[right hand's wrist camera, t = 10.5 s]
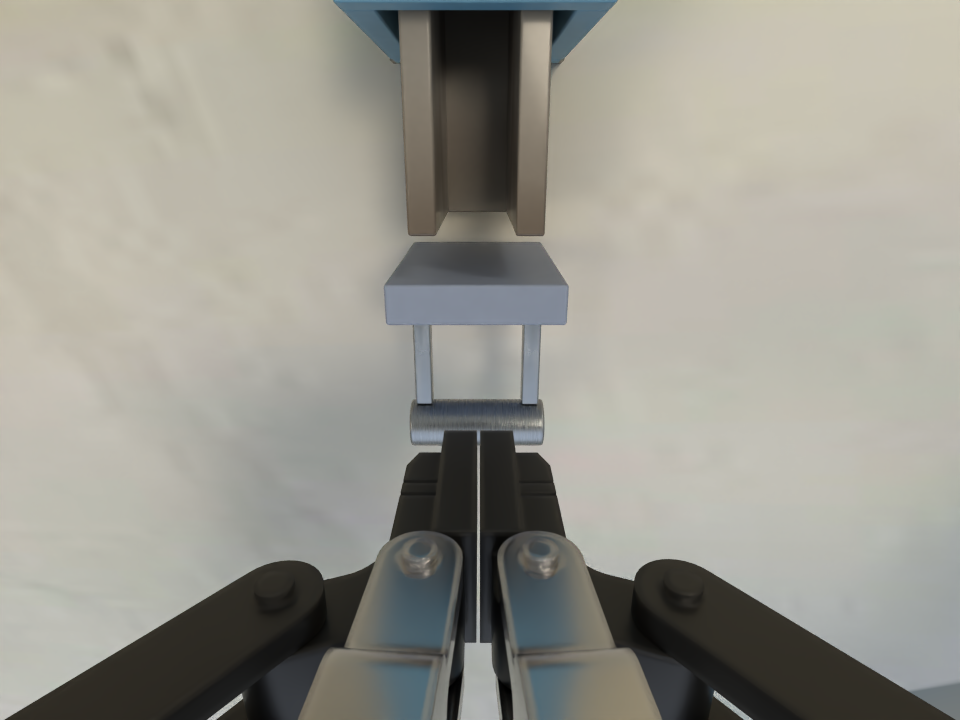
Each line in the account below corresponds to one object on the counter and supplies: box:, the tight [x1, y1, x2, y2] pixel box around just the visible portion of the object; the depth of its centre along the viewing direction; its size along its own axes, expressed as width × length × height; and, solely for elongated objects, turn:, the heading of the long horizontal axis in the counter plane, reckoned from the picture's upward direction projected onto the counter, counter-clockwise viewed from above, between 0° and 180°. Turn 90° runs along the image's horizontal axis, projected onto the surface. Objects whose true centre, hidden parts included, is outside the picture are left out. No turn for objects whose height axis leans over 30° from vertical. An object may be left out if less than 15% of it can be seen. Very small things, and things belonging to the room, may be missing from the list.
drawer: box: [384, 10, 569, 445], centre depth 18 cm, size 24×5×8 cm, turn 0°
